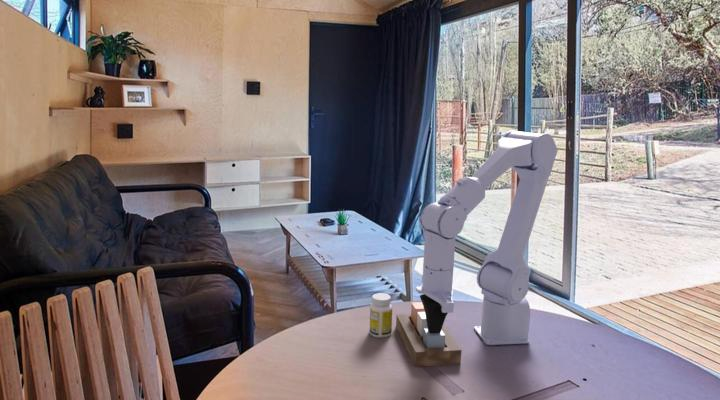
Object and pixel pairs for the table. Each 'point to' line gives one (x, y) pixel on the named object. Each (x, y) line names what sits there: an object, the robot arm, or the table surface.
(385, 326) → the supplement bottle
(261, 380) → the table surface
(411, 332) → the key block
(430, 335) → the blue key
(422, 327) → the white key
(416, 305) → the red key
